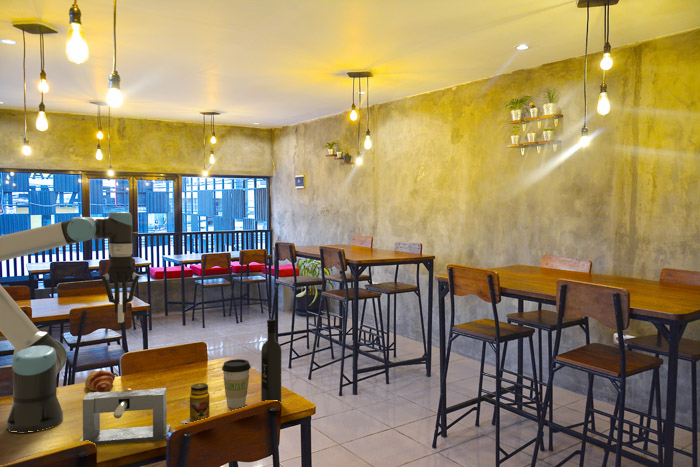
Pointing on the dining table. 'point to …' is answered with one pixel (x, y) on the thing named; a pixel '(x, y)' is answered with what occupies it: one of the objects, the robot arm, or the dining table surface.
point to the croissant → (99, 381)
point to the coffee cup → (236, 382)
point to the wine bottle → (271, 366)
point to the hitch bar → (138, 401)
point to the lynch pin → (122, 405)
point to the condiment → (198, 403)
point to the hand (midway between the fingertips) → (121, 321)
